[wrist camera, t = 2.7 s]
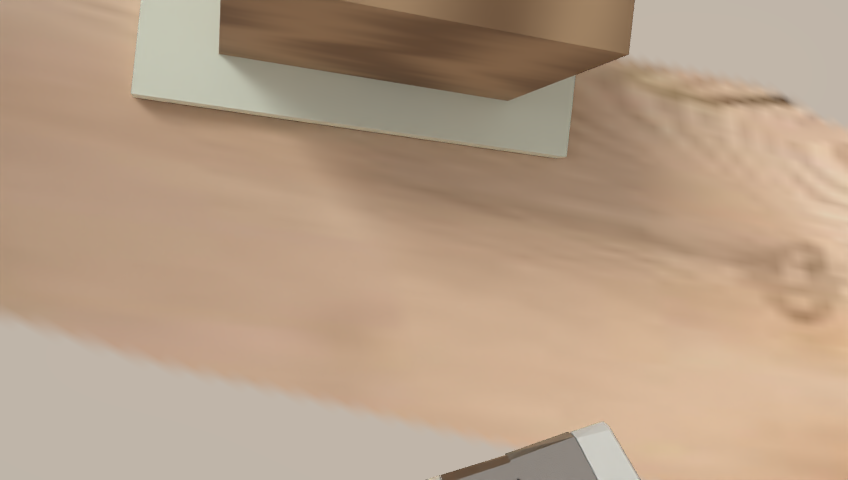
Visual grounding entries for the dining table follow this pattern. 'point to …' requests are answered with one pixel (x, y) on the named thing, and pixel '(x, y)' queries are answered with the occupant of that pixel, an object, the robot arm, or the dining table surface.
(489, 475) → the robot arm
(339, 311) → the dining table surface
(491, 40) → the t block
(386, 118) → the board
